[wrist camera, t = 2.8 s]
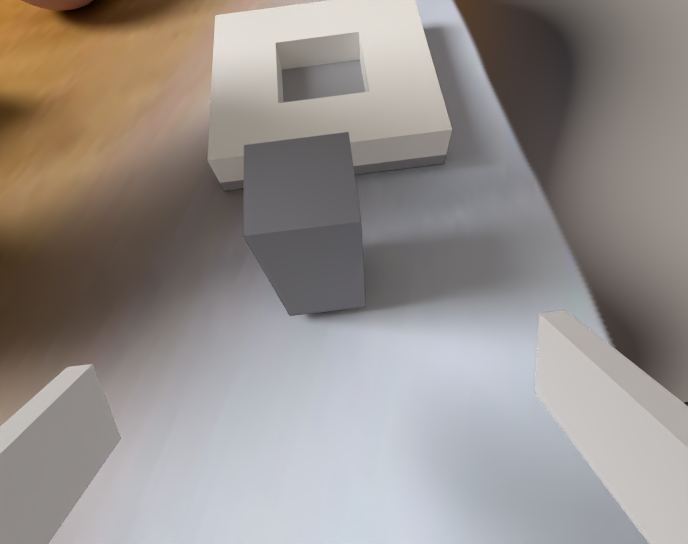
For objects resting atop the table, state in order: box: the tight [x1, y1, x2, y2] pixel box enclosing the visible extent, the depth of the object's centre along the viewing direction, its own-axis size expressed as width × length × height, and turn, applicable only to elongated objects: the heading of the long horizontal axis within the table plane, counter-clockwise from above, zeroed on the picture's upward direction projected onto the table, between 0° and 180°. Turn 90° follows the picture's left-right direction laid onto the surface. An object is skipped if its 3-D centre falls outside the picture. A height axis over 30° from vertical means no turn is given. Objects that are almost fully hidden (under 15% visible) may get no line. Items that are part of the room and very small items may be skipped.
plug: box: [243, 132, 366, 316], centre depth 22 cm, size 5×5×11 cm
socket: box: [207, 0, 452, 191], centre depth 33 cm, size 17×16×4 cm
